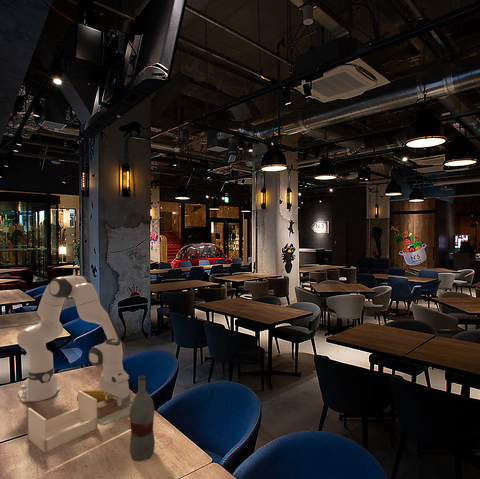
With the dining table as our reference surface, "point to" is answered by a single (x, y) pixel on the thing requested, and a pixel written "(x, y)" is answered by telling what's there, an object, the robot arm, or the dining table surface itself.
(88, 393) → the food
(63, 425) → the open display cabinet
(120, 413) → the board
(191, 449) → the dining table surface
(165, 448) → the dining table surface
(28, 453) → the dining table surface
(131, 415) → the bottle
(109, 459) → the dining table surface
